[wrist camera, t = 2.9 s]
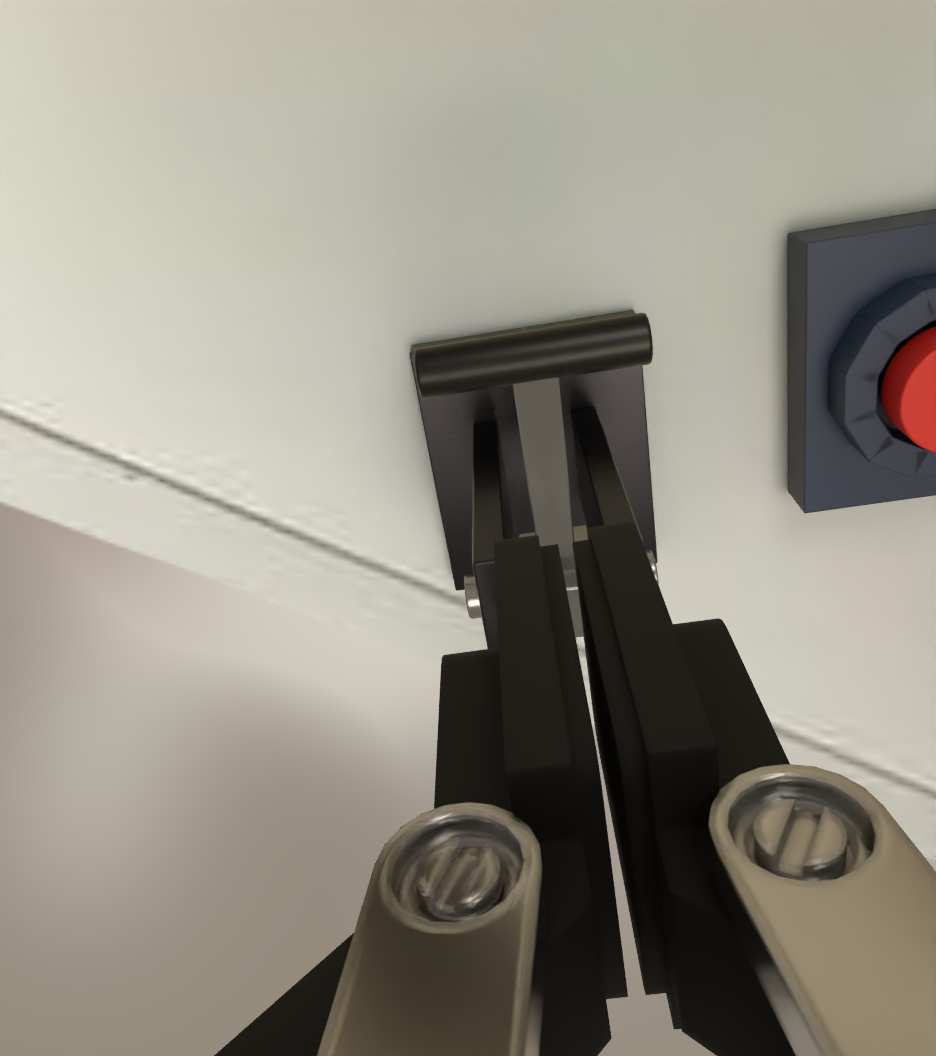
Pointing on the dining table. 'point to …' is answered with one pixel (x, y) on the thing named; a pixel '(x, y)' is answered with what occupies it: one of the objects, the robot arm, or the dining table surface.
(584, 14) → the dining table surface
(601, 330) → the lever
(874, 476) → the button housing
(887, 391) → the button
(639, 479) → the lever bracket
